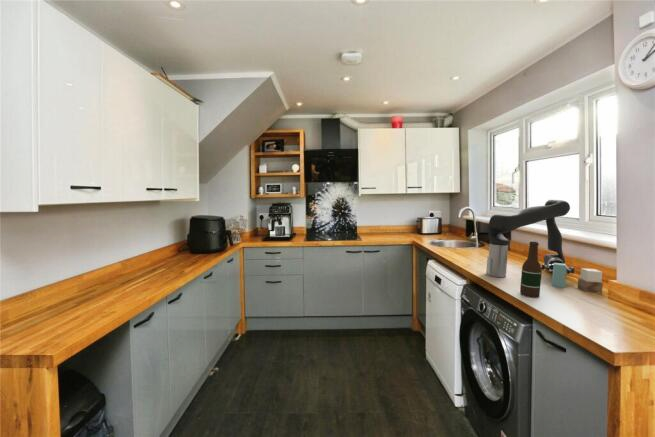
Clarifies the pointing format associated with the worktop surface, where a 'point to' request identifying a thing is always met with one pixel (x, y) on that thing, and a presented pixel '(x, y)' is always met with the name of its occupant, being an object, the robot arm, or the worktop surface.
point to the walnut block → (590, 286)
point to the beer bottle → (531, 273)
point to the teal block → (559, 275)
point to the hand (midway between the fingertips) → (558, 270)
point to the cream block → (591, 275)
